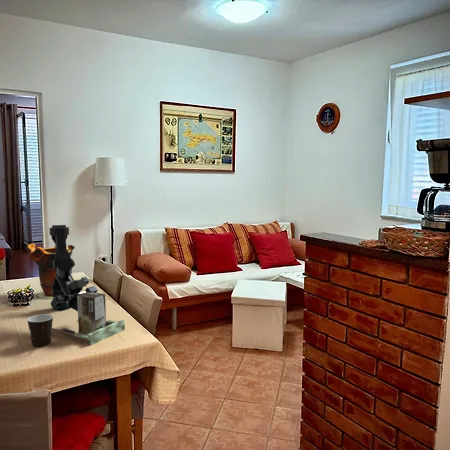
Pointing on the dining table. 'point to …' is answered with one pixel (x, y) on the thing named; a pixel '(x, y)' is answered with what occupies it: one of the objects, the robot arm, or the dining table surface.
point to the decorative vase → (45, 268)
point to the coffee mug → (40, 329)
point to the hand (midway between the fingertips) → (84, 314)
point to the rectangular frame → (93, 337)
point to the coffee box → (91, 312)
